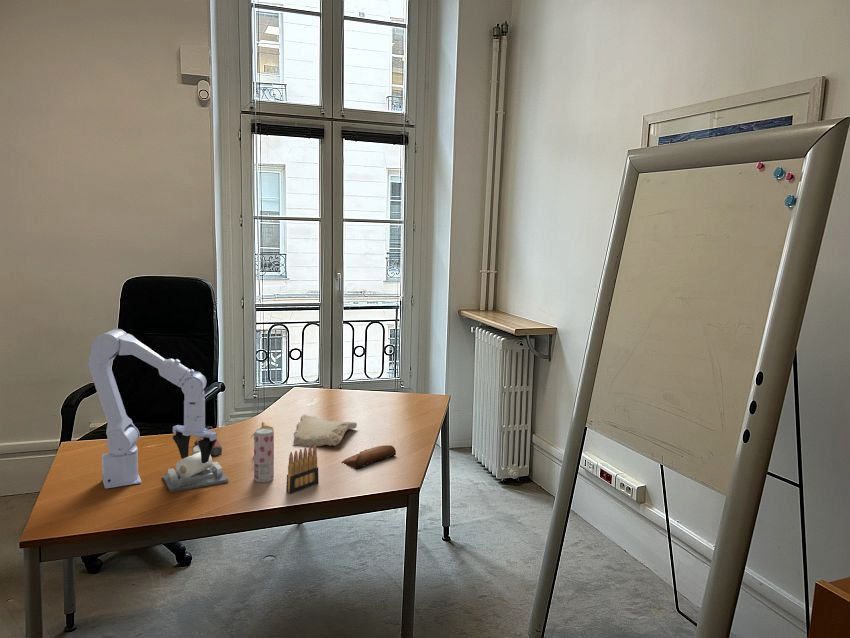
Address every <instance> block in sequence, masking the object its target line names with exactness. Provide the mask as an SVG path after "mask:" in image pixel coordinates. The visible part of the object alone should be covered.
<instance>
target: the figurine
mask: <svg viewBox="0 0 850 638" xmlns="http://www.w3.org/2000/svg"><path fill="white" fill-rule="evenodd" d="M260 428H270V429H272V430H273V433H274V434H275V432H274V431H275V430H274V427H272V426H269V425H267V424H266V423H265V422H264V421H262V422H261V426H260ZM260 428H258V429H260ZM254 434H255V432H254V433H252V435H251V436H250V439H252V438H254Z"/></svg>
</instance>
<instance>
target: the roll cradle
mask: <svg viewBox="0 0 850 638" xmlns="http://www.w3.org/2000/svg"><path fill="white" fill-rule="evenodd" d="M162 479H163V481H164V483H165V485H166V486H167V488H168V491H169V493H176V492H181V491H186V490H187V489H188V490H193V489H199V488H204V487H205V488H206V487H210V486H216V485H221V484H227V483H229V478H228V476H226V474H225V473H224V472H223V467H222V466H221V465H220V463H219V462H218V461H212V465H211V467H209V468H207V469H205V470H203V471H201V472H199V473H197V474H195V475H193V476H191V477H189V478H186V479H183V478H181V477H179V476H178V474H177V472H176V469H174V468H172V467H171V468H168V469H167V473H163V474H162Z"/></svg>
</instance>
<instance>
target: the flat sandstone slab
mask: <svg viewBox="0 0 850 638" xmlns="http://www.w3.org/2000/svg"><path fill="white" fill-rule="evenodd" d="M357 425H358V424H357V422H355V421H332V420H325V419H322V418H319V417H317V416H314V415H313V416H312V415H307V414H302V415H301V416H300V421H299V422H298V423H297V424H296V429H295V431H294V433H293V441H292V442H293V445H295V446H300V447H301V446H303V447H308V448H309V447H310V446H311V447H314V445H316V447H322V446H325V445H326V446H337V445H339V444H340V443H341V440H342V439H343V437H344V435H345V433H346V432H347V431H348V430H351V429H352V430H353V429H356V428H357Z"/></svg>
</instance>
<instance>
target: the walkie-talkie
mask: <svg viewBox="0 0 850 638" xmlns="http://www.w3.org/2000/svg"><path fill="white" fill-rule="evenodd" d="M202 439H203V438H201V437H197V438H196V440H195V441H194V447H193V448H192V455H194V454H196V453H198V452H200V451H201V450H200V446H199V444H198V441H200V440H202ZM222 453H223V448H222V446H221V444H220V442H219V440H217V441H216V442H215V444H214V446H213V448H212V450H211V453H210V455H213V456H218V454H220V455H222Z"/></svg>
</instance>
